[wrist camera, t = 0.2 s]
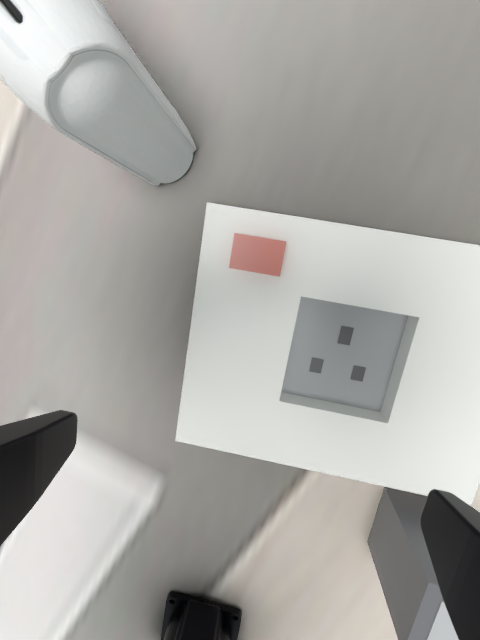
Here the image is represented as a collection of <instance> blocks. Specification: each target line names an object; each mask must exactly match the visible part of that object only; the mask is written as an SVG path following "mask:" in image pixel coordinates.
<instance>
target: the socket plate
mask: <svg viewBox="0 0 480 640" xmlns="http://www.w3.org/2000/svg"><path fill="white" fill-rule="evenodd" d="M175 441H179V442H183V443H188V444H192V445H197V446H202V447H206V448H211V449H215V450H220V451H224V452H229V453H234V454H238V455H243V456H247V457H252V458H257V459H261V460H266V461H270V462H275V463H279V464H284V465H289V466H293V467H298V468H302V469H307V470H311V471H316V472H321V473H325V474H330V475H334V476H339V477H343V478H348V479H353V480H357V481H362V482H366V483H371V484H376V485H380V486H385V487H389V488H394V489H398V490H403V491H408V492H412V493H417V494H421V495H426V496H428V494H429V492H430V491H431V490H433V489H437V490H442V491H447V492H450V493H452V494H454V495H455V496H457V497H458V498H460V499H461V500H462V501H464V502H465V503H467V504H468V505H471V504H472V501H473V499H474V496H475V494H476V491H477V488H478V486H479V483H480V245H474V244H468V243H461V242H455V241H449V240H442V239H436V238H430V237H423V236H417V235H411V234H404V233H398V232H392V231H385V230H379V229H373V228H366V227H360V226H354V225H347V224H341V223H335V222H328V221H322V220H316V219H309V218H303V217H297V216H290V215H284V214H278V213H271V212H265V211H259V210H252V209H246V208H240V207H233V206H227V205H221V204H214V203H208V202H207V206H206V213H205V221H204V228H203V236H202V243H201V251H200V258H199V266H198V274H197V281H196V289H195V296H194V304H193V311H192V319H191V326H190V334H189V341H188V349H187V356H186V364H185V371H184V379H183V386H182V394H181V401H180V409H179V416H178V424H177V431H176V439H175Z"/></svg>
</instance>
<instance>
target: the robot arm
mask: <svg viewBox="0 0 480 640" xmlns="http://www.w3.org/2000/svg"><path fill="white" fill-rule="evenodd" d="M76 437H77V415H76V414H75V413H73V412H68V411H63V410H59V411H55V412H51V413H47V414H44V415H40V416H36V417H32V418H28V419H25V420H21V421H17V422H13V423H10V424H6V425H2V426H0V546H1V544H2V543H3V542H4V541H5V540H6V538H7V537H8V536H9V535H10V534H11V533H12V531H13V530H14V529H15V528H16V527H17V525H18V524H19V523H20V522H21V521H22V520H23V518H24V517H25V516H26V515H27V514H28V512H29V511H30V510H31V509H32V507H33V506H34V505H35V504H36V502H37V501H38V500H39V498H40V497H41V496H42V494H43V493H44V491H45V490H46V488H47V487H48V486H49V484H50V483H51V481H52V480H53V478H54V477H55V476H56V474H57V473H58V471H59V470H60V468H61V467H62V466H63V464H64V463H65V461H66V460H67V458H68V457H69V456H70V454H71V453H72V451H73V449H74V447H75V444H76ZM420 524H421V530H422V533H423V536H424V540H425V543H426V546H427V549H428V553H429V556H430V559H431V562H432V566H433V569H434V572H435V576H436V579H437V582H438V585H439V589H440V592H441V595H442V598H443V601H444V603H445V606H446V609H447V611H448V614H449V617H450V619H451V622H452V624H453V627H454V629H455V632H456V634H457V637H458V639H459V640H480V512H478V511H477V510H475V509H474V508H472V507H471V506H470V505H468V504H467V503H465V502H464V501H462V500H461V499H460V498H458V497H457V496H455V495H454V494H452V493H450V492H447V491H442V490H437V489H433V490H431V491H430V492H429V494H428V496H427V499H426V502H425V505H424V508H423V511H422V514H421V519H420ZM241 617H242V612H241V611H240V610H239V609H237V608H233V607H229V606H225V605H221V604H218V603H214V602H210V601H206V600H202V599H198V598H194V597H190V596H186V595H182V594H179V593H175V592H171V593H169V595H168V598H167V601H166V608H165V615H164V622H163V629H162V636H161V640H237V637H238V632H239V628H240V623H241Z"/></svg>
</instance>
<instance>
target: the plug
mask: <svg viewBox="0 0 480 640" xmlns="http://www.w3.org/2000/svg"><path fill="white" fill-rule="evenodd" d="M426 499H427V496H423V495H419V494H414V493H410V492H405V491H400V490H396V489H391V488H387V487H384V490H383V494H382V497H381V500H380V503H379V506H378V510H377V513H376V516H375V519H374V523H373V526H372V529H371V532H370V536H369V539H368V545H369V548H370V551H371V554H372V558H373V561H374V564H375V567H376V570H377V573H378V577H379V580H380V583H381V586H382V589H383V592H384V596H385V599H386V602H387V605H388V608H389V611H390V615H391V618H392V621H393V624H394V627H395V630H396V634H397V637H398V640H459V639H458V637H457V634H456V632H455V629H454V627H453V624H452V622H451V619H450V617H449V614H448V611H447V609H446V606H445V603H444V601H443V598H442V595H441V592H440V589H439V585H438V582H437V579H436V576H435V572H434V569H433V566H432V562H431V559H430V556H429V553H428V549H427V546H426V543H425V540H424V536H423V533H422V530H421V524H420V519H421V514H422V511H423V508H424V505H425V502H426Z"/></svg>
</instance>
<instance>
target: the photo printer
mask: <svg viewBox="0 0 480 640" xmlns="http://www.w3.org/2000/svg"><path fill="white" fill-rule="evenodd" d="M0 79H1V80H2V81H3V82H4V83H5V85H6V86H7V87H8V88H9V89H10V90H11V91H12V92H13V93H14V94H15V95H16V96H17V97H18V98H19V99H20V100H21V101H22V102H23V103H25V104H26V105H27V106H28V107H29V108H30V109H31V110H32V111H33V112H34V113H36V114H37V115H38V116H39V117H40V118H42V119H43V120H44V121H45V122H47V123H48V124H49V125H51V126H52V127H53V128H54V129H56V130H57V131H59V132H60V133H62V134H63V135H65V136H67V137H69V138H70V139H72V140H74V141H75V142H77V143H79V144H81V145H83V146H84V147H86V148H88V149H89V150H91V151H93V152H95V153H96V154H98V155H100V156H102V157H104V158H105V159H107V160H109V161H110V162H112V163H114V164H116V165H117V166H119V167H121V168H123V169H124V170H126V171H128V172H130V173H132V174H133V175H135V176H137V177H139V178H140V179H142V180H144V181H146V182H148V183H150V184H151V185H154V186H158V185H159V184H160V183H171V182H174V181H176V180H178V179H179V178H181V177H182V176H183V175H184V174H185V173H186V172H187V170H188V169H189V167H190V165H191V163H192V159H193V152H194V151H195V150H196V146H195V143H194V141H193V139H192V137H191V135H190V133H189V131H188V129H187V127H186V126H185V124H184V122H183V121H182V120H181V118H180V117H179V115H178V113H177V111H176V109H175V108H173V106H172V105H171V103H170V102H169V101H168V99H167V98H166V97H165V95H164V94H163V92H162V91H161V90H160V88H159V87H158V85H157V84H156V83H155V81H154V80H153V78H152V77H151V76H150V74H149V73H148V71H147V70H146V69H145V67H144V66H143V64H142V63H141V62H140V60H139V59H138V57H137V56H136V54H135V53H134V52H133V50H132V49H131V47H130V46H129V44H128V43H127V41H126V40H125V39H124V37H123V36H122V34H121V33H120V31H119V30H118V29H117V27H116V26H115V24H114V23H113V21H112V20H111V18H110V17H109V15H108V13H107V11H106V9H105V7H104V6H103V5H102V4H101V3H100V2H99V1H98V0H0Z"/></svg>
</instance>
